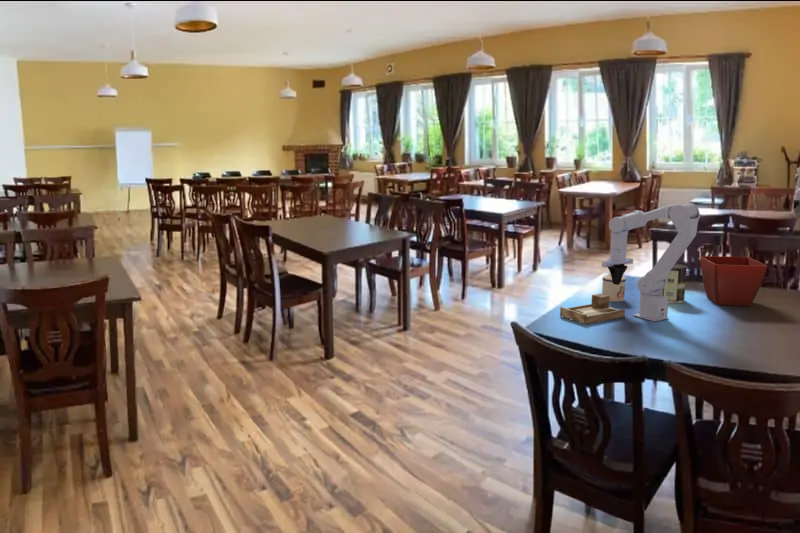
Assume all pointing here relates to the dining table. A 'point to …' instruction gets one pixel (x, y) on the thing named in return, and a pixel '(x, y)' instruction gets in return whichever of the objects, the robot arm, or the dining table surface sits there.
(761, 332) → the dining table surface
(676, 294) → the coffee can
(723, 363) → the dining table surface
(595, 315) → the board
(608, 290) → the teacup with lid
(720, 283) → the plant pot
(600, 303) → the walnut block
